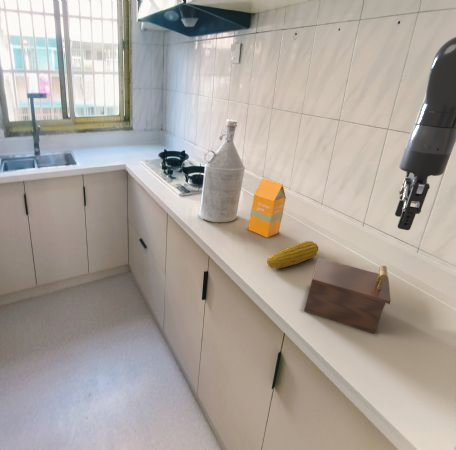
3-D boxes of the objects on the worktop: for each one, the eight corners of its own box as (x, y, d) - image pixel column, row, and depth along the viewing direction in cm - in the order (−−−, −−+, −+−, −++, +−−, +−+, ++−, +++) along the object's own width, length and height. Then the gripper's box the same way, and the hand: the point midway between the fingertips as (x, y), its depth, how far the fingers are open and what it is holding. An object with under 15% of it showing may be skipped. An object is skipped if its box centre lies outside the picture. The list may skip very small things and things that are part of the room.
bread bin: (373, 305, 90) (383, 277, 86) (373, 333, 80) (385, 303, 76) (310, 287, 97) (317, 260, 93) (303, 310, 86) (311, 281, 83)
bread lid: (387, 278, 86) (393, 261, 84) (389, 304, 76) (397, 285, 74) (317, 260, 93) (322, 244, 91) (311, 281, 83) (316, 264, 81)
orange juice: (259, 224, 137) (268, 177, 129) (279, 232, 130) (289, 182, 122) (247, 229, 132) (255, 180, 124) (267, 237, 126) (277, 186, 118)
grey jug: (192, 213, 145) (200, 117, 129) (227, 210, 151) (240, 117, 135) (205, 225, 134) (216, 121, 118) (243, 221, 140) (258, 121, 124)
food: (304, 252, 116) (308, 236, 114) (318, 259, 112) (323, 243, 109) (261, 267, 106) (264, 250, 103) (275, 275, 102) (279, 258, 99)
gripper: (459, 157, 61) (426, 238, 67) (444, 146, 72) (418, 216, 79) (409, 151, 64) (382, 229, 71) (403, 141, 75) (380, 209, 82)
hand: (401, 222), depth 75 cm, fingers open, 8 cm apart
